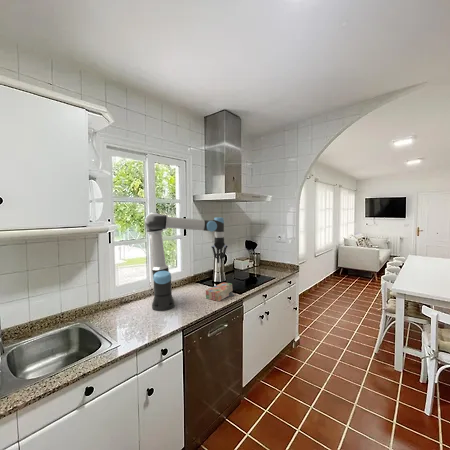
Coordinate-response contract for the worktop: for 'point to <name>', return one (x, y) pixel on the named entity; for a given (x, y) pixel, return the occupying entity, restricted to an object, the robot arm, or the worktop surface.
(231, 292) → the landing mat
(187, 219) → the robot arm
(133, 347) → the worktop surface
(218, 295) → the stack of blocks
